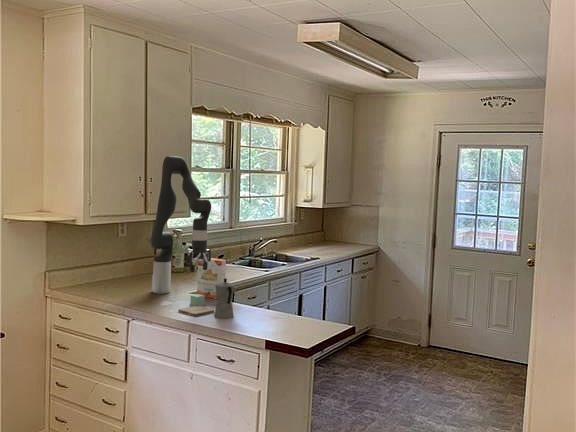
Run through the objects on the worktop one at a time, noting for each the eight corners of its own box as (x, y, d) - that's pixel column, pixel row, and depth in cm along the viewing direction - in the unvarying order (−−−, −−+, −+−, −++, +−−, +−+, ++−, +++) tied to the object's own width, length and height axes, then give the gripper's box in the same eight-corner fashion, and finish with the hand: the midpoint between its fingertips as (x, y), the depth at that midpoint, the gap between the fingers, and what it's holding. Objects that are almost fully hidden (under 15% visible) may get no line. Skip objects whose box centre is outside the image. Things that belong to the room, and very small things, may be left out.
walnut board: (178, 311, 273) (178, 309, 273) (197, 307, 283) (197, 305, 282) (195, 316, 266) (195, 314, 266) (214, 312, 275) (214, 309, 275)
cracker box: (196, 297, 306) (197, 258, 304) (201, 294, 311) (202, 256, 310) (220, 299, 301) (221, 260, 300) (225, 297, 307) (226, 259, 306)
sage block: (190, 305, 288) (190, 295, 287) (197, 303, 292) (198, 293, 291) (197, 306, 285) (197, 297, 284) (204, 305, 289) (204, 295, 288)
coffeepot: (210, 313, 273) (211, 276, 272) (229, 312, 277) (230, 275, 276) (219, 321, 259) (221, 282, 258) (239, 320, 263) (241, 281, 261)
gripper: (204, 237, 293) (203, 268, 295) (183, 239, 282) (182, 271, 283) (215, 238, 289) (214, 270, 290) (194, 240, 278) (193, 273, 279)
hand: (198, 271), depth 287 cm, fingers open, 8 cm apart
